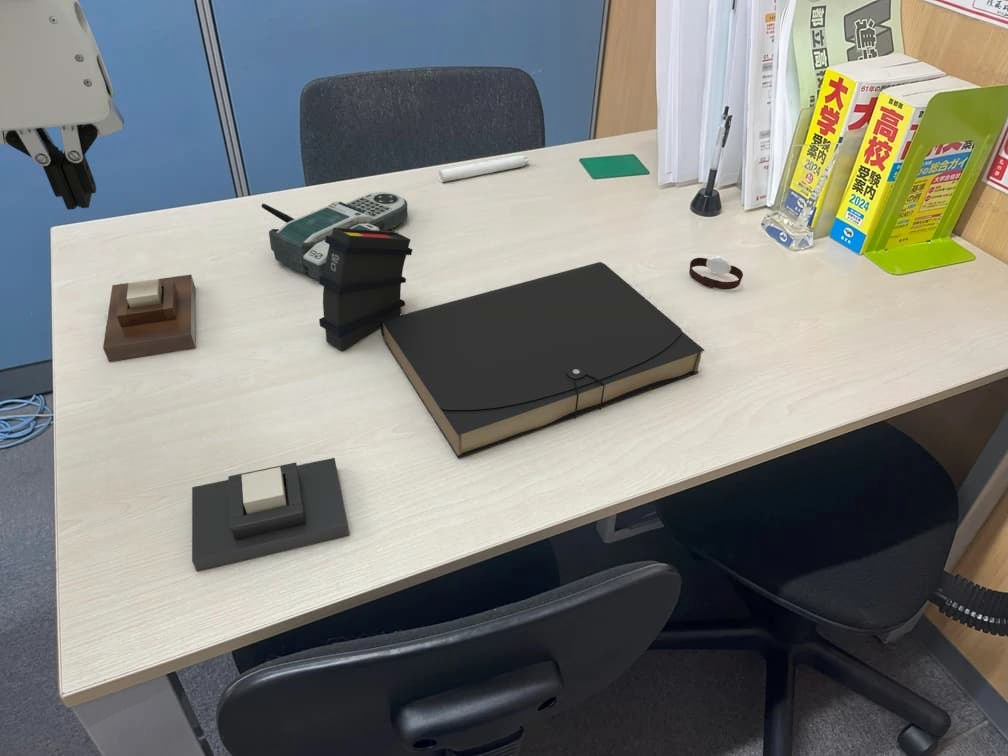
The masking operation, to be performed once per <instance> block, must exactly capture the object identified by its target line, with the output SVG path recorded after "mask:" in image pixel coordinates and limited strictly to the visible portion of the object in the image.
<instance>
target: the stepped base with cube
mask: <svg viewBox="0 0 1008 756" xmlns="http://www.w3.org/2000/svg"><path fill="white" fill-rule="evenodd" d="M277 467H280V468H281V472H282V476H283V481H284V489H285V497H286V505H287V506H284V507H280V508H275V509H271V510H266V511H262V512H257V513H252V514H248V515H247V513H246V510H245V507H244V504H243V491H242V475H243V474H248V473H253V472H258V471H263V470H267V469H272V468H277ZM344 537H345V538H346V537H350V529H349V523H348V519H347V514H346V509H345V503H344V498H343V493H342V487H341V483H340V477H339V473H338V468H337V462H336V458H335V457H331V458H327V459H322V460H316V461H311V462H307V463H302V464H297V462H290V463H287V464H286V463H285V464H282V465H281V464H280V465H277V466H276V465H275V466H271V467H266V468H262V469H257V470H252V471H247V472H243V473H238V474H233V475H228V477H227V479H225V480H221V481H220V480H219V481H215V482H211V483H210V482H209V483H205V484H201V485H197V486H192V487H191V562H192V564H193V567H194V569H195V571H196V572H201V571H205V570H209V569H213V568H218V567H222V566H226V565H231V564H234V563H238V562H243V561H247V560H251V559H252V560H253V559H256V558H259V557H265V556H268V555H273V554H276V553H281V552H285V551H290V550H293V549H298V548H302V547H306V546H310V545H315V544H319V543H324V542H328V541H332V540H335V539H340V538H344Z"/></svg>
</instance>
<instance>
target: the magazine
mask: <svg viewBox="0 0 1008 756" xmlns="http://www.w3.org/2000/svg"><path fill="white" fill-rule="evenodd" d="M325 242H326V243H327V244H329V249H328V254H327V258H326V266H325V275H324V276H320V277H319V280H318V285H321V286H322V287H323V291H322V293H323V294H322V310H323V317H321V318H319V326H320V327H321V328H322V329H324V330H325V340H326V342H327V343H328V344H329V345H331V346H333V347H334V348H336V349H338V350H339V351H345V350H346V349H348V348H349V347H351V346H353V345H354V344H357V342H359V341H361V340H362V339H364V338H365V337H367V336H369V335H371V334H372V333H374V332H375V331H377V330H380V321H381V320H384V319H388V318H392V317H396V316H399V315H402V308H403V307H405V306H406V301H405V300H404V299H402V298H401V290H402V284H404V283H406V282H407V278H406V277H405V276H403V270H404V266H405V261H406V258H407V256H411V255H412V254H413V249H412V248H410V247H409V246H410V243H411V239H410V238H409V237H407V236H405V235H403V234H400V233H398V232H396V231H390V230H387V231H378V230H364V229H349V228H335V227H334V228H333V232H332V236H326V239H325Z"/></svg>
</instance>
